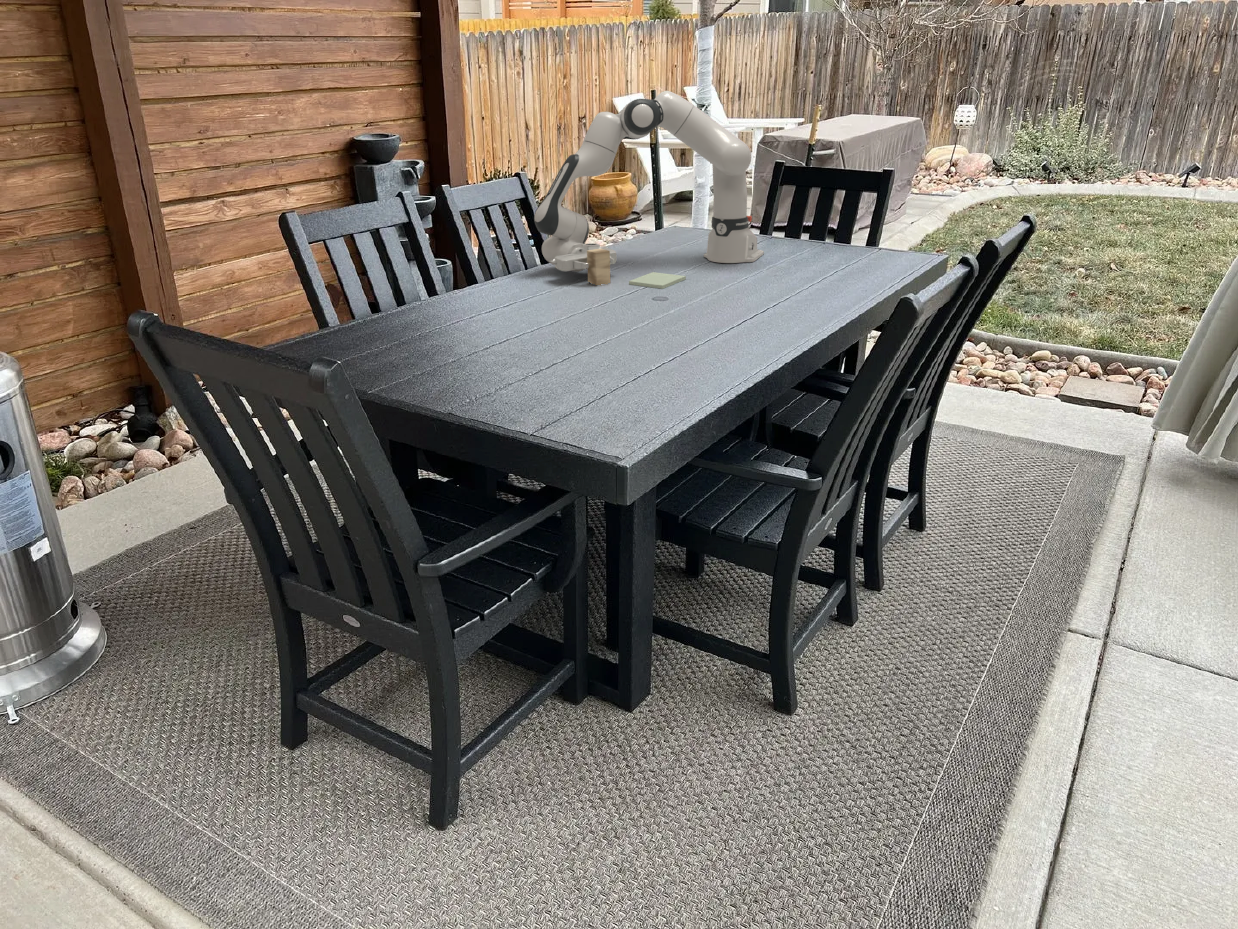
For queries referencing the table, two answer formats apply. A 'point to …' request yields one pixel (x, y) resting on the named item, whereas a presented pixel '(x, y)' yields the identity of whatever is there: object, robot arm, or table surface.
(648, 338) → the table surface
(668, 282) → the sage mat
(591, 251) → the oak block
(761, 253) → the robot arm
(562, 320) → the table surface
